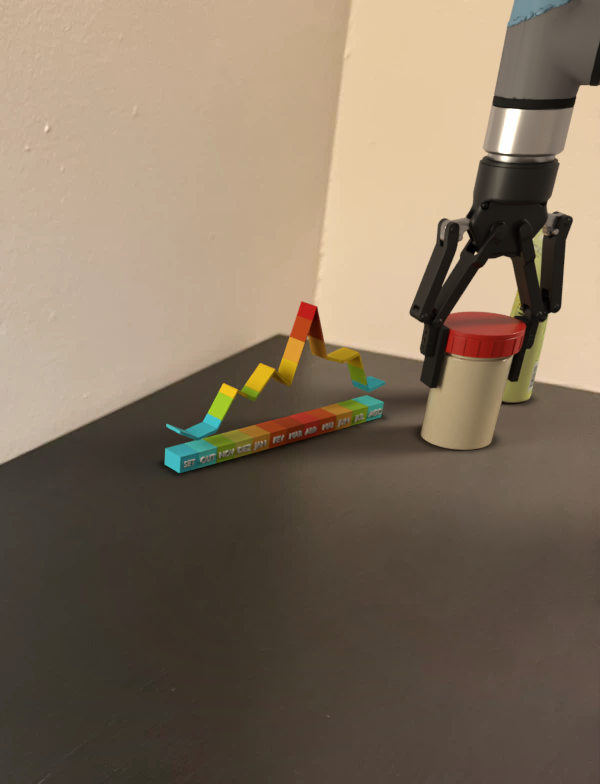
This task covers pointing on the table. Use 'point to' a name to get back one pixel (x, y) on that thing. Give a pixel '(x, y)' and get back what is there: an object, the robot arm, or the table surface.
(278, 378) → the chart
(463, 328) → the lid
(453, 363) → the jar
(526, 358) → the tube
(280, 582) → the table surface
